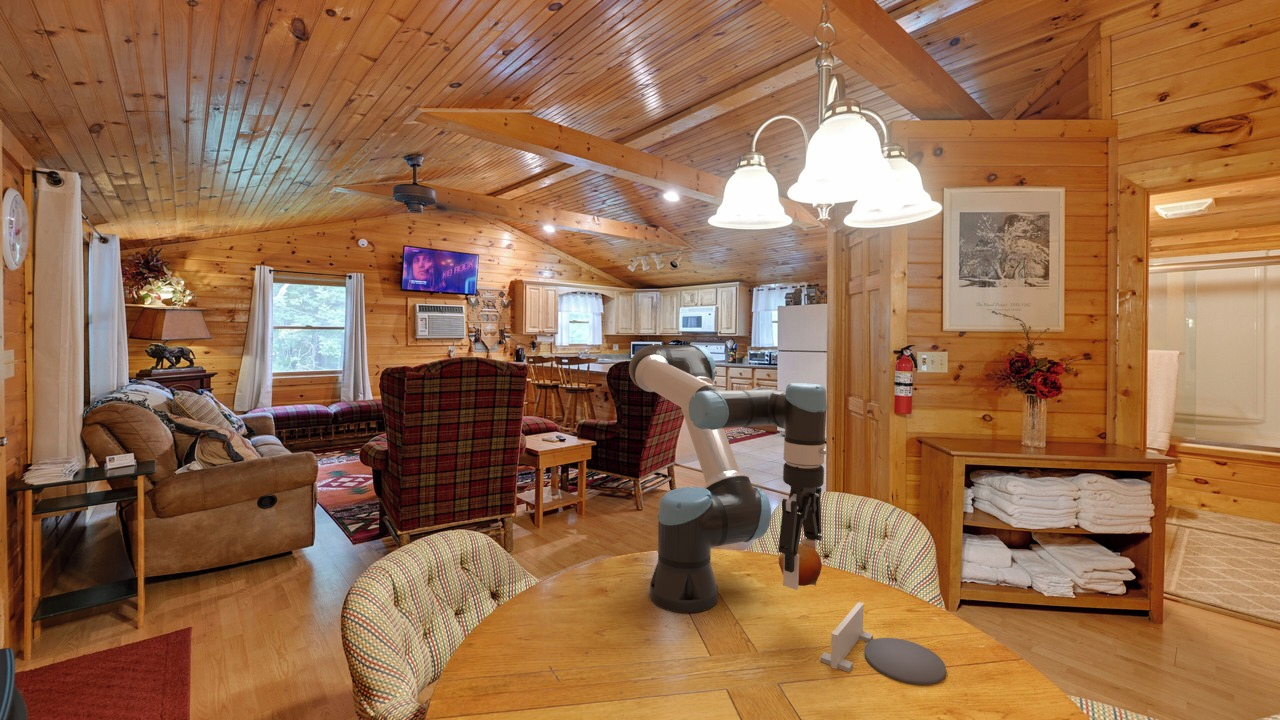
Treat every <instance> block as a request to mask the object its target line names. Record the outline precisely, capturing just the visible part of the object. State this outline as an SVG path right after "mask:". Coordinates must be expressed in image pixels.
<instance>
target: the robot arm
mask: <svg viewBox="0 0 1280 720" xmlns="http://www.w3.org/2000/svg"><path fill="white" fill-rule="evenodd" d="M628 365H629V366H628V373H629V376H630V377H629V378H630V379H631V381H632V382H633V384H634V385H635V386H637V387H638V388H640V389H642V390H643V391H645V392H647V393H648V392H649V393H656V394H657V395H659V396H661V397H663V398H664V399H666V400H668V401H669V402H671V403H673V404H675V405H677V406H678V407H679V408H680V409H681V412H682V414H683V418H684V421H685V423H686V426H687V430H688V433H689V436H690V438H691V441H692V445H693V447H694V450H695V454H696V456H697V459H698V463H699V466H700V469H701V472H702V474H703V478H704V480H705V481H704V482H705V483H706V484H705V486H704V487H702V486H701V487H700V486H692V487H690V486H683V487H678V488H677V487H676V488H675V489H672V490H669V491H668V492H666V493H665V494H663V496H662V497H661V498H660V499H659V504H658V513H657V520H658V521H657V522H658V525H657V529H658V531H657V533H658V534H657V535H658V536H657V537H658V538H657V539H658V540H657V541H658V542H657V543H658V544H657V563H656V565H655V568H654V572H653V575H652V577H651V581H650V583H649V598H650V600H651V601H652V603H654V604H655V605H656V606H658V607H659V608H661V609H664V610H666V611H669V612H675V613H684V614H685V613H687V614H689V613H690V614H691V613H699V612H703V611H707V610H710V609H711V608H713V607H714V606H715V605H716V604H717V603H718V600H719V587H718V584H717V581H716V577H715V574H714V571H713V567H712V563H711V559H712V558H711V557H712V555H711V554H712V553H711V551H712V550H711V549H712V548H717V547H721V546H727V545H732V544H738V543H749V542H751V541H754V540H757V539H761V538H762V537H764V536H765V534H767V532H768V530H769V527H770V524H771V523H770V522H771V520H772V508H771V504H770V502H771V501H770V500H769V497H768V495H767V493H766V492H765V491H764V490H763V489H761V488H760V487H757V486H753V485H752V482H751V480H750V477H749V476H748V475H746V474H745V473H742V472H741V471H740V469H739V466H738V463H737V461H736V457H735V455H734V453H733V450H732V447H731V445H730V443H729V440H728V436H727V434H726V431H725V429H735V428H749V427H762V426H763V427H767V426H771V427H777V428H779V429H784V440H783V442H784V443H783V460H784V464H783V466H782V467H783V471H782V480H783V482H784V483H785V484H786V485H788V486H789V488H790V490H789V494H788V495H789V496H788V499H786V498H783V499H782V501H781V508H782V509H781V511H782V513H781V522H780V523H781V524H780V531H779V540H778V541H779V542H778V552H779V553H780V554H781V553H784V569H783V574H782V576H783V577H782V586H784V587H785V588H786V587H787V588H789V589H793V590H796V591H797V590H798V589H799V585H798V580H799V554H797V551H798V546H799V544H800V540H801V544H806V545H810V546H811V547H813V548H814V549H815V550H816V551H817V545H818V544H817V542H818V541H819V542H821V541H822V539H823V538H822V537H823V536H822V535H821V534H822V502H821V497H822V486H824V482H825V481H824V479H825V467H824V466H823V465H824V463H825V455H827V453H828V451H827V449H825V446H826V444H825V443H826V424H827V420H826V419H827V410H828V405H827V390H826V387H825V386H824V385H822V384H818V383H817V384H816V383H809V382H807V383H806V382H791V383H788V384H787V385H786V387H785V390H781V389H773V388H771V387H754V388H751V389H735V390H734V389H733V390H732V389H731V390H727V389H724V388H723V389H722V388H720V387H718V386H715V385H714V383H713V382H714V381H715V377H716V370H715V369H716V363H715V359H714V357H713V355H712V353H711V352H710V351H709V350H708V349H707V348H706V347H704V346H702V345H694V344H686V345H685V344H684V345H682V344H681V345H677V344H676V345H675V344H670V345H669V344H650V345H647V346H644V347H642V348H640V349H638V350H637V351H636V352H635V353H634V354H633V356H631V359H630V362H629V364H628ZM802 529H803V535H804V537H803V538H802V539H801V535H802Z"/></svg>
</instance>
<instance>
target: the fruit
mask: <svg viewBox="0 0 1280 720" xmlns="http://www.w3.org/2000/svg"><path fill="white" fill-rule="evenodd" d="M797 554H799V580H798V587H799V586H800V587H805V586H806V587H807V586H817V582H818V579H819V577H820V576H821V575H820V574H821V571H822V569H823V568H822V567H823V564H822V560H821V557H820V556H821V555H820V554H819V552H817V549H816V550H815V549H814V548H813V547H811V546H810V545H806V544H802V543H799V546H798V551H797ZM778 565H779V567H780V570H781V574H782V575H783V569H784V553H781V552H780V555H779V557H778Z"/></svg>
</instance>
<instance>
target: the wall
mask: <svg viewBox="0 0 1280 720" xmlns="http://www.w3.org/2000/svg"><path fill="white" fill-rule="evenodd" d="M864 605H865V603H863V602H860V601H858V602H857V603H856V604H855V605H854V606H853V607H852V609H851V610H850V611H849V613H847V615H845V617H844V618H843V619H842V620H841V622H840V623H839V624H838V626H836V628H834V630H833V631H832V632H831V642H830V644H831V645H830V646H831V648H830V653H828V652H825V651H824V652H823V653H822V655H820V662H821V663H823V664H827V665H828V666H830V668H833V669H835V670H838V669H839V670H841V671H844V672H846V673H850V672H851V671H852V669H854V663H853V662H852V661H849V660H847V659H846V657H847V656H848V654H849V653H850V652H851V651H852V649H853V648H854V646H855V645H856V644H857V643H858V641H859V640H860V641H863V642H866V643H868V642H869V641H871V640H873V639H874V633H873V634H872V633H870V632H868V631H864V611H865V610H864V609H865V608H864Z"/></svg>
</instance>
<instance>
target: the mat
mask: <svg viewBox="0 0 1280 720" xmlns="http://www.w3.org/2000/svg"><path fill="white" fill-rule="evenodd" d="M863 649H864V651H863V652H864V658H865V660H866V662H867V664H869V666H871V667H872V669H874V670H876V671H877V672H879V673H880V674H881V675H883V676H885V677H887V678H889V679H891V680H892V679H893V680H895V681H898V682H902V683H905V684H910V685H917V686H930V685H931V686H932V685H936V684H938V683H941V682H942V681H943V680H944V679H945V678H946V673H947V672H946V665H945V663H944V661H943V659H942V658H941V657H940V656H939V655H937V654H936V653H935V652H933V651H932V650H931V649H929V648H927V647H925V646H923V645H922V644H918V643H916V642H913V641H909V640H906V639H902V638H896V637H895V638H894V637H878V638H875V639H874V638H873V639H872V640H871V641H869V642H866V643H865V646H864V648H863Z"/></svg>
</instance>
